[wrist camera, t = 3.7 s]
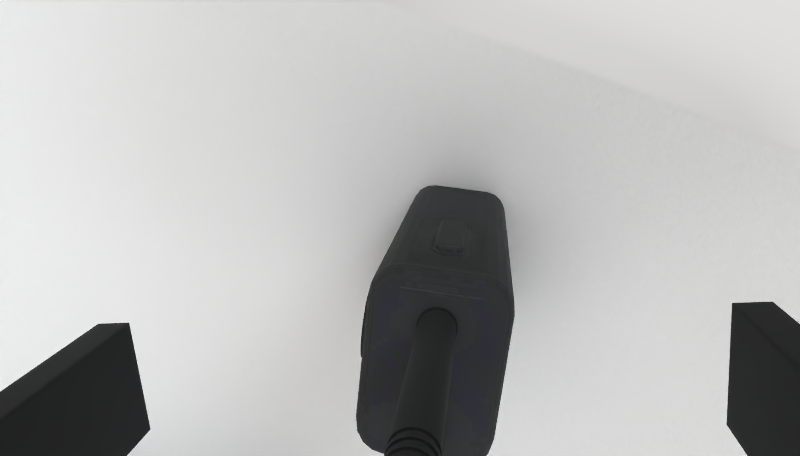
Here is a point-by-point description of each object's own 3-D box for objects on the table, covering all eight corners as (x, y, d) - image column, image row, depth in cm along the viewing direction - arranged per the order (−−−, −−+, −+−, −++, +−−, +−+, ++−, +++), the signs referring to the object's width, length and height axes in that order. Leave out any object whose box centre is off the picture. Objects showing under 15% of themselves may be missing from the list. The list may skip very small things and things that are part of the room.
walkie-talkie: (488, 317, 23) (489, 743, 9) (396, 303, 23) (251, 692, 9) (508, 186, 22) (548, 437, 7) (410, 173, 22) (268, 390, 8)
